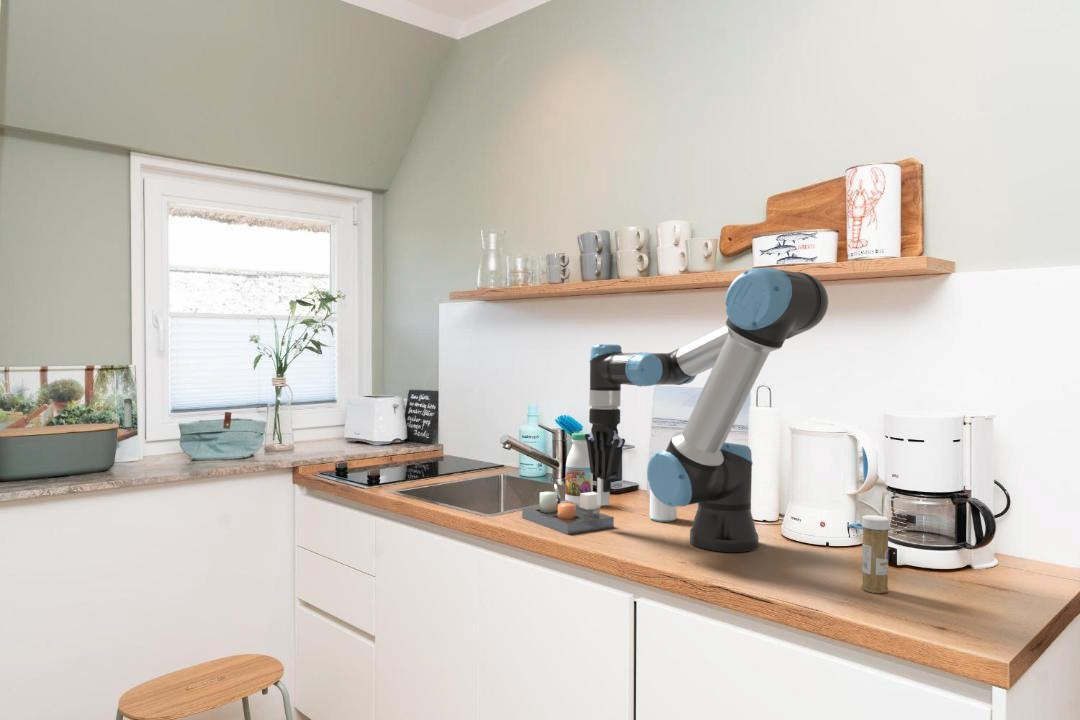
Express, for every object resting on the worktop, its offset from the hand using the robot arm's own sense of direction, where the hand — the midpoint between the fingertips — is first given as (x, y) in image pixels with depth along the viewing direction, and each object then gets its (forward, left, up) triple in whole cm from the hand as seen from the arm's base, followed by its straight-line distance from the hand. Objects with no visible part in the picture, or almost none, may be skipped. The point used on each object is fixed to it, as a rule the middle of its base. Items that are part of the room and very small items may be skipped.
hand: (603, 504), depth 176 cm
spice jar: (-62, -14, -6) cm, 64 cm away
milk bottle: (+27, -13, -6) cm, 31 cm away
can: (0, -20, -6) cm, 21 cm away
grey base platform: (+10, +3, -6) cm, 12 cm away
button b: (+14, +6, -4) cm, 16 cm away
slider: (+5, 0, -2) cm, 5 cm away
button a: (+6, +6, -5) cm, 10 cm away
